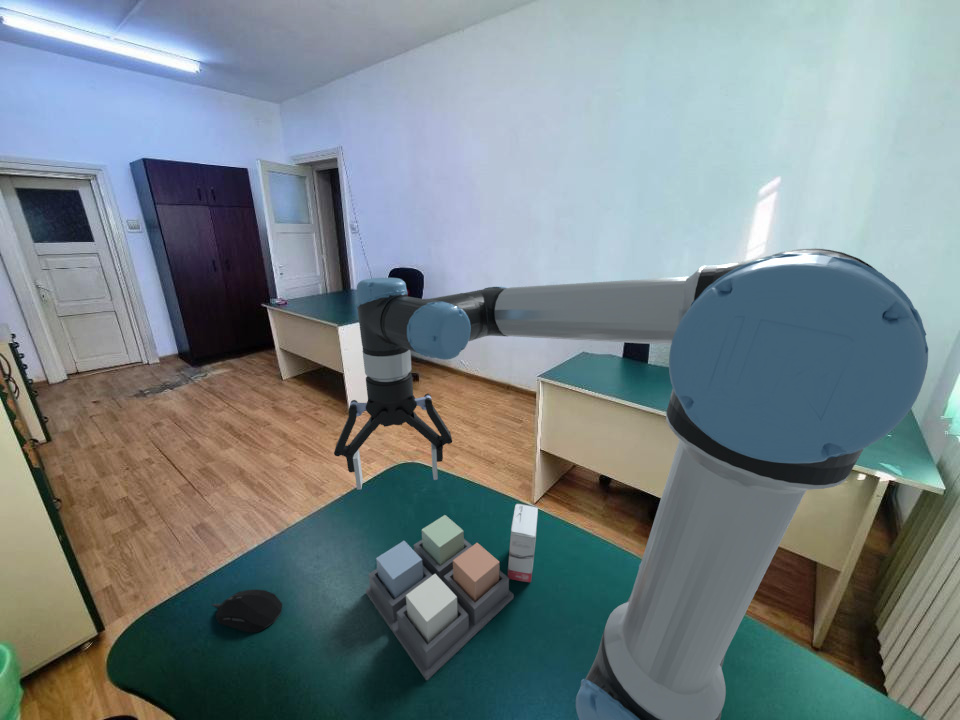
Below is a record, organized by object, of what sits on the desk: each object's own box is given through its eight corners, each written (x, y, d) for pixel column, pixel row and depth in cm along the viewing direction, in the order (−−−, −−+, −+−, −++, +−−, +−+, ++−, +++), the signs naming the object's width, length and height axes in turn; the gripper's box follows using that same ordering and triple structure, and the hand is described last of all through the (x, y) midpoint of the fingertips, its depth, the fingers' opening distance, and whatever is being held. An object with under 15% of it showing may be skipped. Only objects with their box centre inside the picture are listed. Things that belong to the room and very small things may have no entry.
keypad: (513, 598, 70) (514, 578, 69) (426, 681, 58) (425, 659, 56) (447, 537, 84) (447, 519, 83) (365, 593, 71) (363, 573, 70)
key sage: (463, 549, 76) (463, 530, 74) (440, 567, 72) (439, 547, 71) (445, 533, 80) (445, 514, 79) (422, 548, 76) (421, 529, 75)
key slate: (423, 579, 70) (422, 559, 68) (395, 600, 66) (393, 579, 64) (406, 560, 74) (404, 540, 72) (378, 578, 70) (376, 558, 68)
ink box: (532, 584, 73) (535, 537, 69) (507, 579, 74) (508, 532, 70) (535, 549, 81) (538, 505, 77) (512, 545, 82) (514, 501, 78)
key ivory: (457, 618, 63) (456, 596, 61) (428, 644, 59) (426, 621, 57) (436, 594, 67) (435, 573, 65) (407, 616, 63) (405, 595, 61)
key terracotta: (499, 582, 69) (499, 561, 67) (475, 603, 65) (475, 582, 64) (477, 562, 73) (477, 542, 72) (453, 580, 69) (452, 560, 68)
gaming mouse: (222, 590, 73) (217, 574, 71) (290, 603, 70) (286, 588, 69) (193, 621, 67) (187, 605, 65) (266, 638, 64) (261, 621, 63)
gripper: (459, 360, 67) (461, 460, 75) (313, 370, 63) (330, 475, 70) (466, 376, 61) (468, 484, 68) (303, 388, 56) (323, 503, 63)
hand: (398, 480), depth 69 cm, fingers open, 13 cm apart
